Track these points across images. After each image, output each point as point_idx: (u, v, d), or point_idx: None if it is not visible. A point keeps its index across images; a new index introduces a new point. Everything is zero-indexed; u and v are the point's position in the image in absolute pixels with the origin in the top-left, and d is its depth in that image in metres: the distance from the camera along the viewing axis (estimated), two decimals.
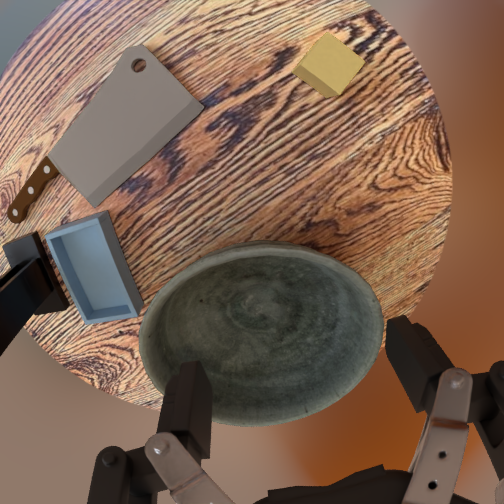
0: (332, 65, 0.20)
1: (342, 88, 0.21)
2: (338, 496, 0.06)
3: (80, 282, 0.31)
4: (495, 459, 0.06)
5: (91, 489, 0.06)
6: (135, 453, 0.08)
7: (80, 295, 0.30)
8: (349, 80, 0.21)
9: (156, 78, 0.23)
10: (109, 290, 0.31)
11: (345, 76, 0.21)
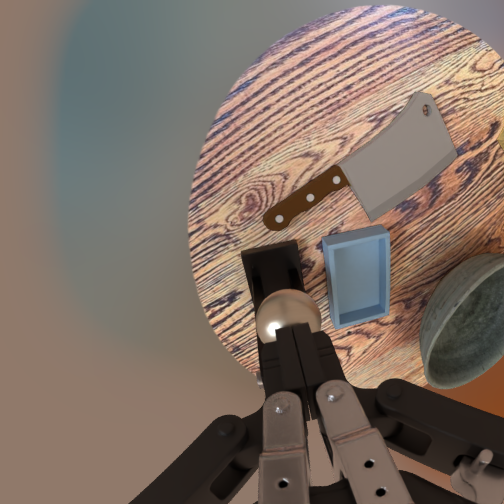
0: None
1: None
2: (338, 496, 0.06)
3: None
4: (430, 462, 0.07)
5: (188, 449, 0.08)
6: (247, 421, 0.09)
7: None
8: None
9: (436, 125, 0.27)
10: (360, 295, 0.36)
11: None
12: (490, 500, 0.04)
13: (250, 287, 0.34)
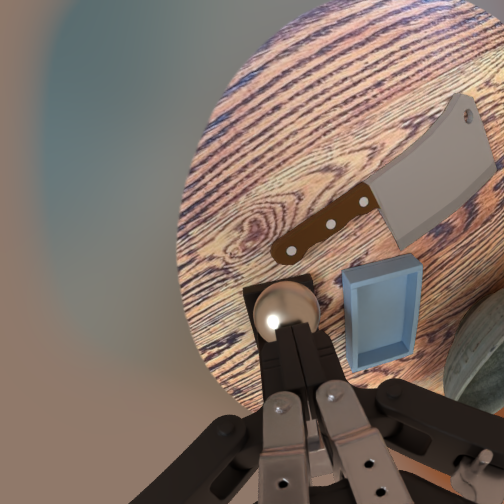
0: None
1: None
2: (338, 496, 0.06)
3: None
4: (429, 463, 0.07)
5: (188, 449, 0.08)
6: (247, 421, 0.09)
7: None
8: None
9: (477, 134, 0.21)
10: (382, 332, 0.30)
11: None
12: (490, 500, 0.04)
13: (254, 330, 0.27)
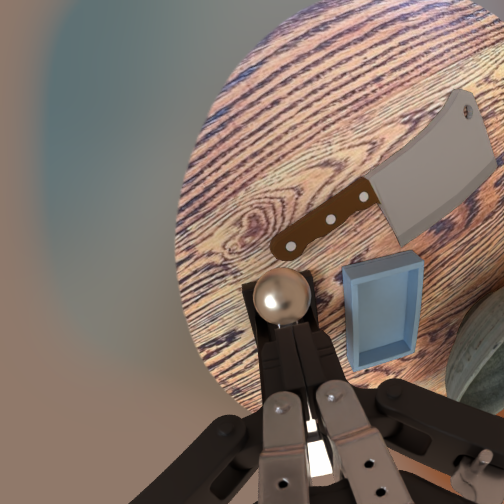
0: None
1: None
2: (338, 496, 0.06)
3: None
4: (429, 462, 0.07)
5: (188, 449, 0.08)
6: (247, 421, 0.09)
7: None
8: None
9: (477, 130, 0.21)
10: (383, 331, 0.29)
11: None
12: (490, 500, 0.04)
13: (253, 328, 0.27)
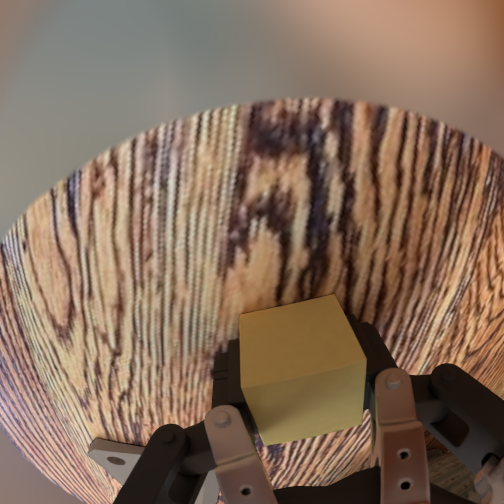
0: (312, 415, 0.10)
1: (358, 418, 0.10)
2: (338, 496, 0.06)
3: None
4: (462, 456, 0.06)
5: (138, 463, 0.07)
6: (191, 431, 0.09)
7: None
8: (361, 403, 0.10)
9: None
10: None
11: (348, 407, 0.10)
12: None
13: None
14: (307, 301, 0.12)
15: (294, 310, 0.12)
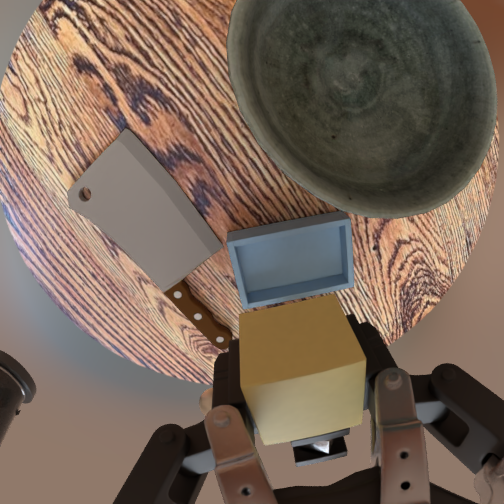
0: (311, 415, 0.10)
1: (358, 418, 0.10)
2: (338, 496, 0.06)
3: (306, 280, 0.31)
4: (462, 456, 0.06)
5: (138, 463, 0.07)
6: (191, 431, 0.09)
7: (319, 283, 0.30)
8: (360, 403, 0.10)
9: (97, 176, 0.25)
10: (319, 247, 0.30)
11: (348, 406, 0.10)
12: None
13: None
14: (307, 301, 0.12)
15: (294, 310, 0.12)
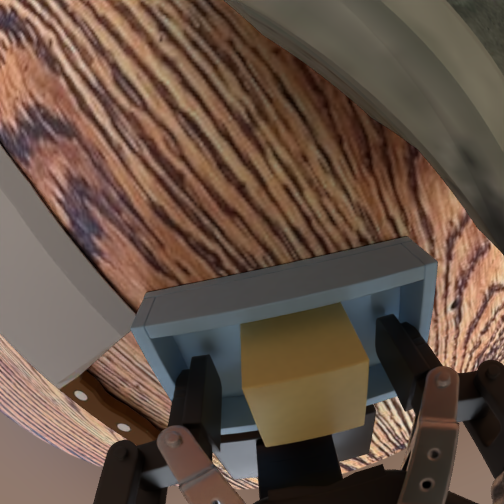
0: (314, 417, 0.09)
1: (360, 419, 0.10)
2: (338, 496, 0.06)
3: None
4: (488, 458, 0.06)
5: (100, 482, 0.06)
6: (146, 447, 0.08)
7: None
8: (363, 404, 0.09)
9: None
10: (356, 319, 0.13)
11: (351, 408, 0.09)
12: None
13: None
14: None
15: None
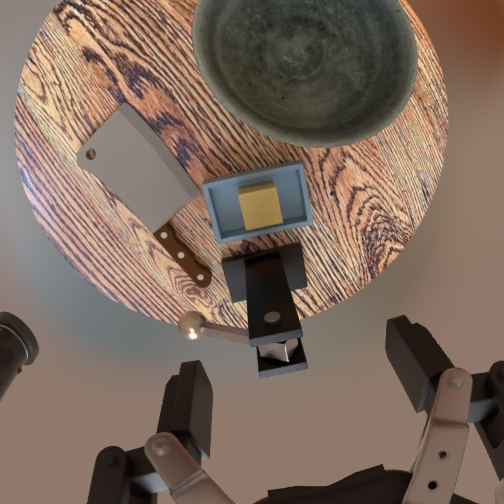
0: (262, 212, 0.32)
1: (280, 218, 0.32)
2: (338, 496, 0.06)
3: None
4: (495, 459, 0.06)
5: (91, 489, 0.06)
6: (135, 453, 0.08)
7: (283, 222, 0.36)
8: (279, 209, 0.32)
9: (100, 139, 0.31)
10: (281, 191, 0.35)
11: (274, 209, 0.32)
12: None
13: None
14: None
15: (257, 183, 0.34)
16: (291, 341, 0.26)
